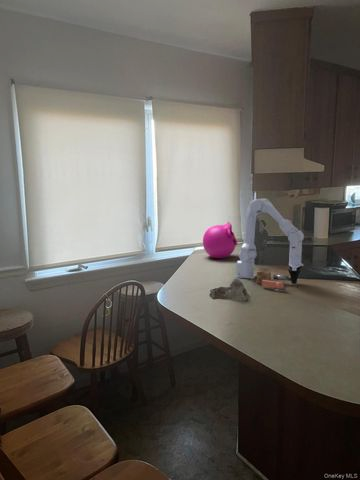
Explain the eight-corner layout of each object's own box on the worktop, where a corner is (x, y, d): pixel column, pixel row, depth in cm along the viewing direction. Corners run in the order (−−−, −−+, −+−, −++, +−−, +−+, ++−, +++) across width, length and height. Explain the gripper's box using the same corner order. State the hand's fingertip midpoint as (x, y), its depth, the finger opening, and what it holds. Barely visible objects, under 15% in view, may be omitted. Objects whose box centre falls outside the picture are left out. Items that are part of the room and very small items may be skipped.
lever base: (273, 291, 166) (273, 289, 166) (274, 288, 171) (274, 286, 171) (284, 292, 164) (284, 290, 164) (285, 289, 169) (285, 287, 169)
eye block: (256, 283, 179) (257, 271, 178) (258, 279, 186) (259, 268, 185) (268, 284, 177) (269, 272, 176) (270, 280, 184) (270, 269, 183)
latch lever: (282, 290, 165) (282, 283, 164) (261, 286, 171) (261, 280, 170) (284, 288, 168) (284, 282, 167) (263, 284, 173) (263, 279, 173)
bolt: (273, 283, 178) (273, 272, 177) (273, 281, 182) (274, 270, 181) (296, 285, 174) (296, 274, 173) (296, 283, 178) (297, 272, 177)
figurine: (239, 261, 233) (240, 224, 229) (203, 261, 233) (203, 224, 229) (234, 254, 256) (235, 220, 252) (202, 254, 256) (202, 220, 252)
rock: (250, 292, 163) (248, 275, 158) (249, 307, 154) (247, 290, 149) (212, 292, 167) (209, 276, 163) (209, 307, 159) (206, 290, 154)
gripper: (303, 258, 166) (302, 285, 168) (304, 252, 179) (303, 278, 181) (288, 257, 168) (287, 284, 170) (289, 252, 182) (288, 277, 184)
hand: (294, 281), depth 176 cm, fingers open, 7 cm apart
